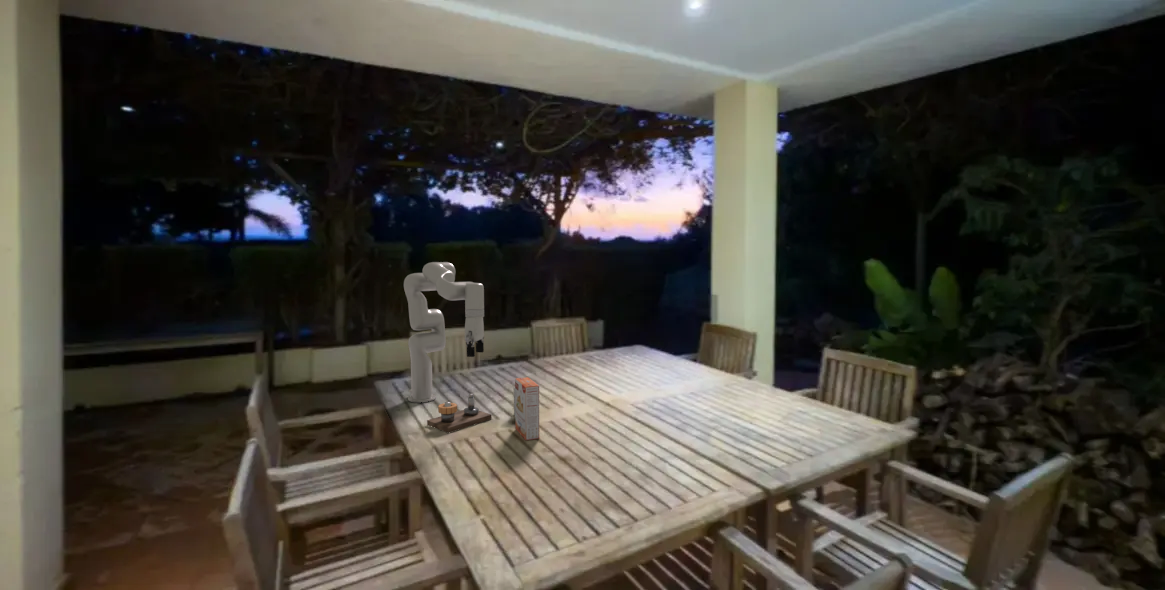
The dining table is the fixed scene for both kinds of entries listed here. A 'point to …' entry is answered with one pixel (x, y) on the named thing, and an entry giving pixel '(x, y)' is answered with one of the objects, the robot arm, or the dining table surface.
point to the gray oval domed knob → (447, 415)
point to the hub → (471, 407)
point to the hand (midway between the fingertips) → (475, 354)
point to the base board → (459, 421)
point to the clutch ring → (447, 408)
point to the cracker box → (527, 408)
